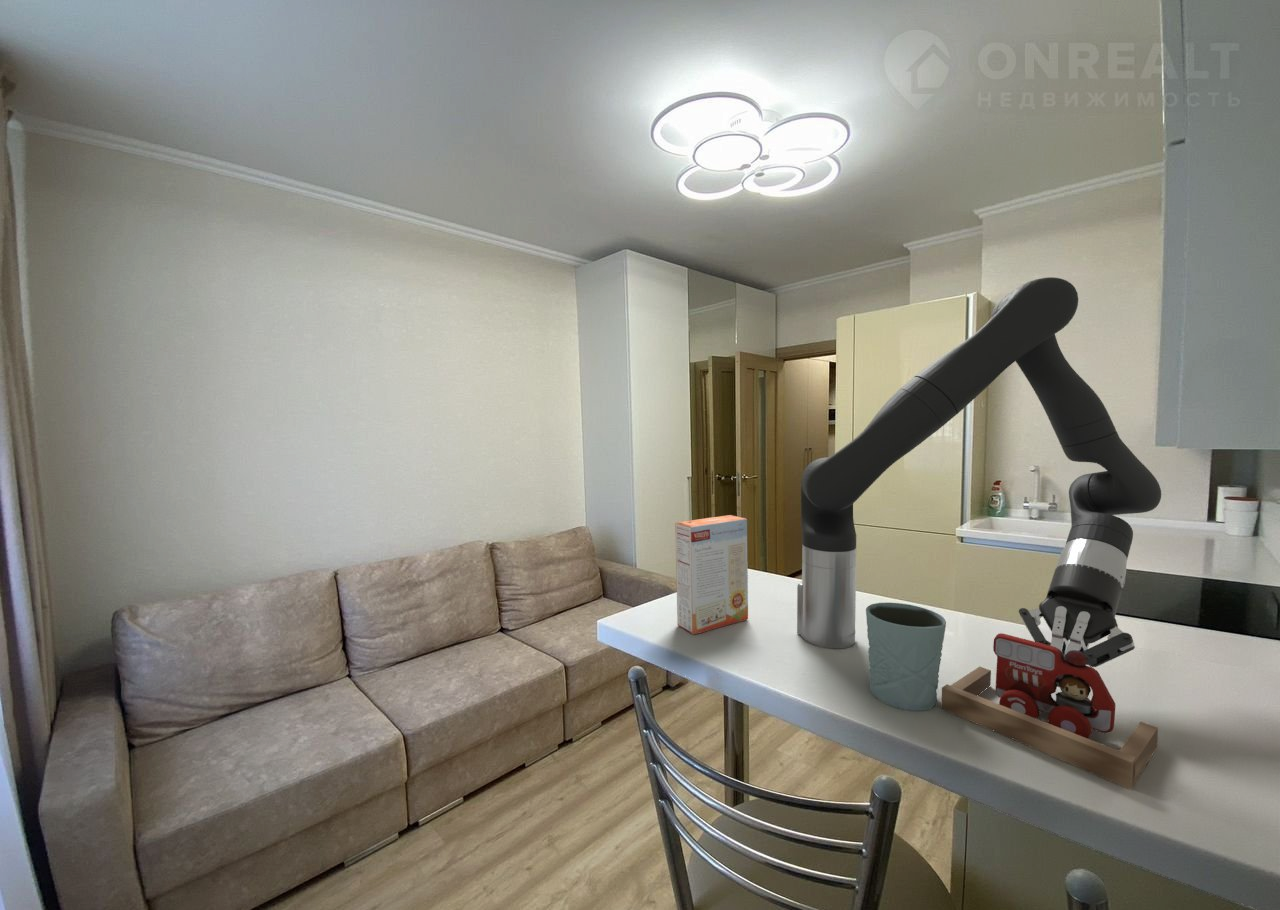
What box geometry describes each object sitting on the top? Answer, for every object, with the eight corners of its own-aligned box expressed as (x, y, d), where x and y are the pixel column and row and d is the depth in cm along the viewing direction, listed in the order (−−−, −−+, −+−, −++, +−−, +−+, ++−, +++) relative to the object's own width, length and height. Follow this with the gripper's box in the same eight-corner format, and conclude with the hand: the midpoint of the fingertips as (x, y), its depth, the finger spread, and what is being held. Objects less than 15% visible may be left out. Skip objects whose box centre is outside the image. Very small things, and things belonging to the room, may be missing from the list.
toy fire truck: (1109, 758, 58) (1113, 671, 58) (984, 713, 68) (987, 638, 67) (1116, 733, 63) (1119, 653, 63) (998, 695, 72) (1000, 624, 72)
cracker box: (729, 611, 106) (729, 513, 105) (749, 620, 101) (749, 518, 100) (675, 625, 99) (674, 520, 98) (693, 635, 94) (692, 525, 93)
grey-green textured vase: (851, 691, 74) (852, 611, 73) (885, 670, 80) (886, 596, 79) (924, 723, 66) (926, 633, 65) (955, 697, 72) (958, 615, 71)
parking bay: (941, 708, 69) (941, 687, 69) (979, 682, 76) (979, 663, 76) (1131, 789, 53) (1132, 762, 53) (1157, 747, 60) (1158, 723, 60)
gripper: (1027, 553, 77) (992, 652, 71) (1147, 573, 66) (1118, 692, 60) (1038, 581, 81) (1006, 677, 74) (1154, 604, 70) (1128, 719, 63)
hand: (1056, 684), depth 67 cm, fingers closed
